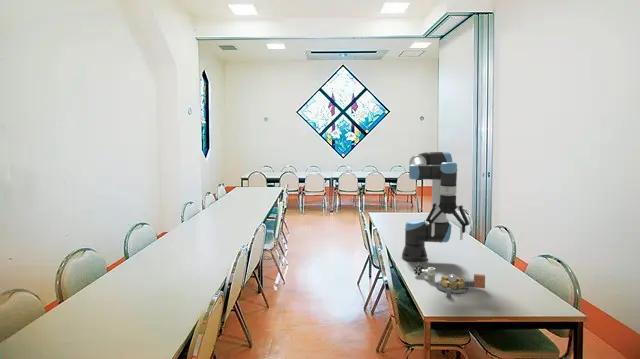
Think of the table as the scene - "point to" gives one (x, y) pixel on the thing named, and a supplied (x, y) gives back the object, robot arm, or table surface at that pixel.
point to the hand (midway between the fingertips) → (446, 237)
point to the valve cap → (453, 291)
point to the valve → (426, 272)
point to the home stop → (448, 292)
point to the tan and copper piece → (464, 282)
